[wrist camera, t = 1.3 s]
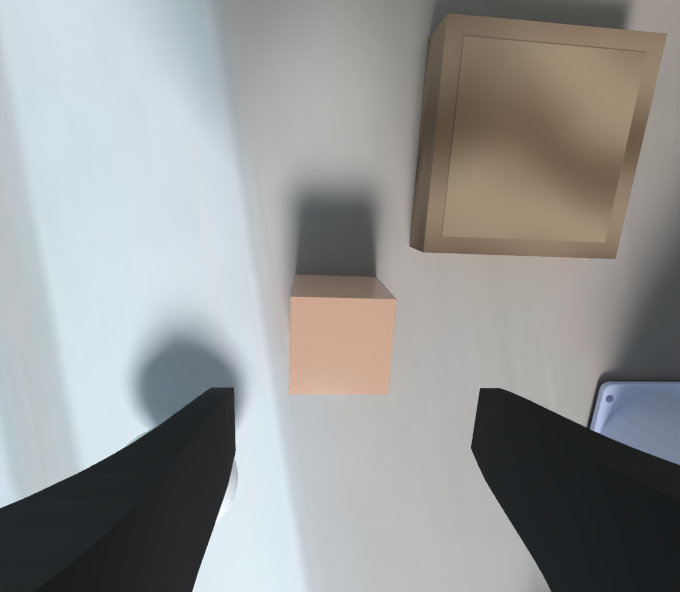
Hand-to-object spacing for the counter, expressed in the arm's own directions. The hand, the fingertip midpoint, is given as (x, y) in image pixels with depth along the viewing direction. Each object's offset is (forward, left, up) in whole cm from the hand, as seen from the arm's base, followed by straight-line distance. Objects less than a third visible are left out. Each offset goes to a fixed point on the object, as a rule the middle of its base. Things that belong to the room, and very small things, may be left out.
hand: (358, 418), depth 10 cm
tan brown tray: (+9, -9, -10) cm, 16 cm away
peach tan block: (0, 0, -10) cm, 11 cm away
